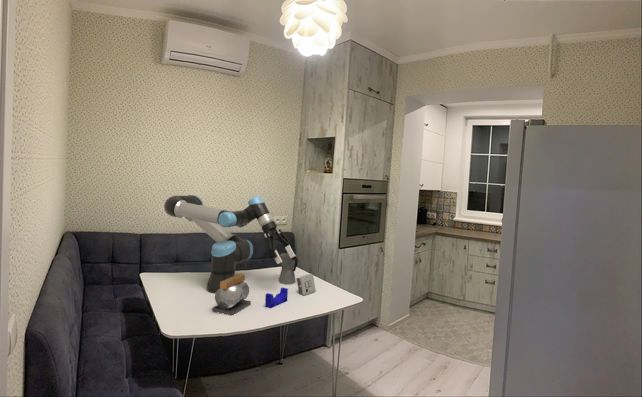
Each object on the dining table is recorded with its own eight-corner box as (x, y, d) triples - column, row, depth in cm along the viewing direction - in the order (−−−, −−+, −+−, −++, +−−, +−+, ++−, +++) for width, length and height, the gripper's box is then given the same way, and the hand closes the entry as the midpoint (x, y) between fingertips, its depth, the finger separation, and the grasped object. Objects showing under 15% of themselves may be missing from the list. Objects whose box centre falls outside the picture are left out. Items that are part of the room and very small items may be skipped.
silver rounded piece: (232, 315, 136) (233, 284, 136) (211, 311, 139) (212, 280, 139) (250, 304, 149) (251, 275, 149) (231, 300, 153) (232, 272, 152)
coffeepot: (273, 280, 188) (274, 248, 187) (287, 277, 194) (289, 246, 193) (288, 287, 176) (290, 253, 175) (303, 284, 182) (304, 251, 181)
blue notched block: (279, 299, 158) (280, 286, 158) (287, 301, 156) (287, 288, 156) (262, 306, 148) (263, 293, 148) (270, 309, 146) (270, 295, 145)
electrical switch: (303, 296, 164) (303, 277, 164) (295, 294, 167) (295, 276, 167) (315, 292, 171) (315, 273, 171) (308, 290, 174) (307, 272, 174)
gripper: (259, 223, 162) (279, 262, 158) (284, 217, 185) (303, 251, 181) (248, 230, 165) (268, 269, 161) (274, 224, 187) (292, 257, 184)
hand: (286, 260), depth 171 cm, fingers open, 13 cm apart
